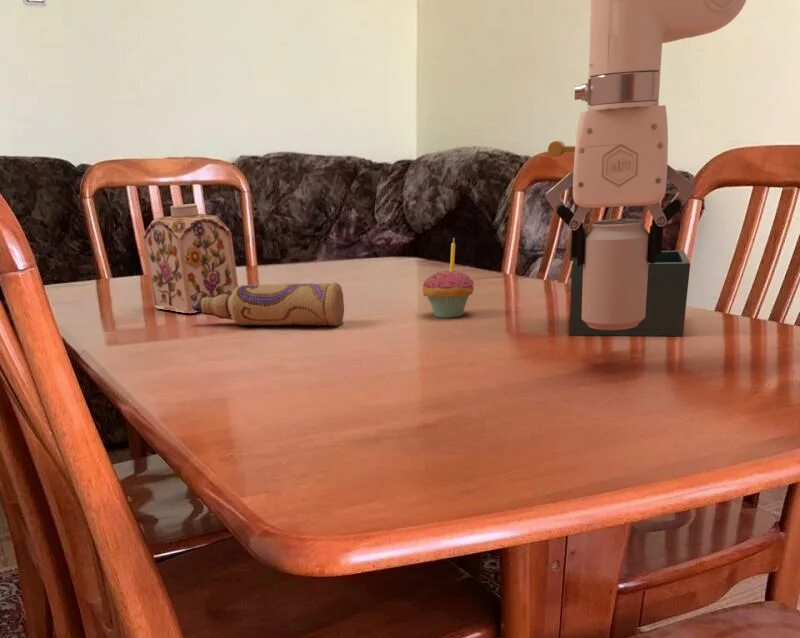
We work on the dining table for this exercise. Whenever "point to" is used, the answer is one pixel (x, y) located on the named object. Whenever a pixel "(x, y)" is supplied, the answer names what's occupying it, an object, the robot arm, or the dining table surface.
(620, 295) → the can
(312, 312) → the decorative bottle
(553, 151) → the lid
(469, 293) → the cupcake
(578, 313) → the chest
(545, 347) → the dining table surface
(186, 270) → the decorative jar
